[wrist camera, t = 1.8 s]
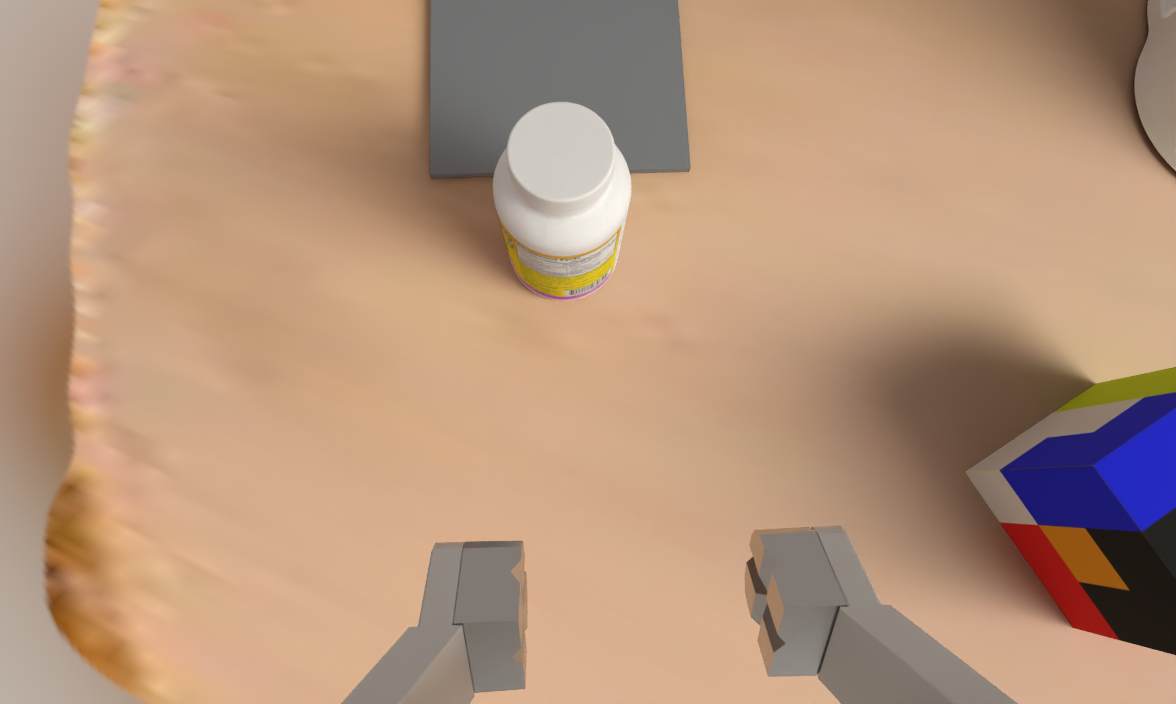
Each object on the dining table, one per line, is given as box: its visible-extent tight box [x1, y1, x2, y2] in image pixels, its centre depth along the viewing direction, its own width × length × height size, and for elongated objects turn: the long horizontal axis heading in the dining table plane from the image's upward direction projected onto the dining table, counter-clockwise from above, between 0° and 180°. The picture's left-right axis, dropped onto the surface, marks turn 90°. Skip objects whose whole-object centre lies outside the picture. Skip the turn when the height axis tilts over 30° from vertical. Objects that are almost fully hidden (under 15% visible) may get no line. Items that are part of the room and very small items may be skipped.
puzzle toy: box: [965, 367, 1176, 655], centre depth 35 cm, size 10×10×10 cm
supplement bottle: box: [493, 102, 631, 301], centre depth 36 cm, size 7×7×13 cm
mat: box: [430, 0, 690, 178], centre depth 44 cm, size 14×16×1 cm
